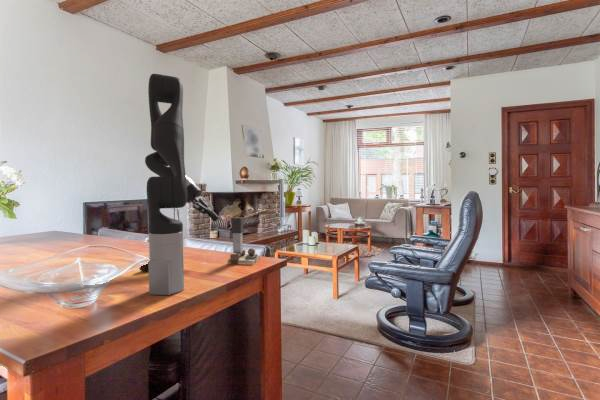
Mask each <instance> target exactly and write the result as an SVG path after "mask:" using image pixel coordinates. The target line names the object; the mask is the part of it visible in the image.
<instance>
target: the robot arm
mask: <svg viewBox="0 0 600 400" xmlns="http://www.w3.org/2000/svg"><path fill="white" fill-rule="evenodd" d="M147 90H148V91H147V92H148V94H147V95H148V108H149V109H148V110H149V117H150V147H151V149H153V151H154V152H152V153H150V154H148V155H146V156H145V158H144V164H145V166H146V167H147V168H148V169H149V170H150V171H151V172H152V173H154V174H156V175H157V176H150V177H149V178H148V179H147V182H146V200H147V211H148V240H149V241H148V247H149V248H148V251H149V256H148V257H149V258H148V259H150V261H149V262H148V268H149V270H148V294H149V295H156V296H157V295H158V296H160V295H161V296H170V295H173V294H177V293H180V292H182V291H184V289H185V276H184V275H185V274H184V273H185V272H184V226H183V225H184V224H183V222H182V221H181V220H179V219H175V218H171V217H168V216H167V215H165V214H164V213H162V211H161V209H180V208H184V207H185V206H186V204H190V203H192V204H193V205H192V208H193V209H194V210H196V211H198V212H199V213H201V214H203V215H206V216H208V217H209V218H210V219H211V220H212V221H213V222H216V221H218V220H219V219H220V216H219V215H217V213H216V212H215V211H214V209H215V208H214V206H213V204H212V202H211V201H210V200H209V199H208V200H207V199H206V198H205V197H204V196H202V193H203V190H202V189H201V188H200V187H199V185H197V183H195V181H193V180H192V179H191V178H190V177H189V176H188V175H186V167H185V132H184V119H183V103H184V102H183V101H184V86H183V82H182V80H181V78H179V77H177V76H173V75H172V76H171V75H165V74H161V73H152V74H150V76H149V79H148V89H147ZM159 103H163V104H170V106H169V108H168V109H166V111H165V112H163V113H162V112H161V110H160V109H161V108H160V106H159Z"/></svg>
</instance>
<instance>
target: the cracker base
mask: <svg viewBox="0 0 600 400" xmlns="http://www.w3.org/2000/svg"><path fill="white" fill-rule="evenodd" d="M259 260H260V254H257V253H256V250H255V249H254V248H249V249H248V250H247V254H246V249H243V252H242V255H241V256H239V254H237V253H232V254H230V258H229V259H227V265H244V266H245V265H251V266H253V265H255V264H256V263H257V262H258V261H259Z"/></svg>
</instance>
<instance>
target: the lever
mask: <svg viewBox="0 0 600 400" xmlns="http://www.w3.org/2000/svg"><path fill="white" fill-rule="evenodd" d="M243 233H244V216H234V217H232V218H231V234H232V254H239V256H241V255H242V252H243V250H244V249H243V246H244V245H243V239H244V238H243Z"/></svg>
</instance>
